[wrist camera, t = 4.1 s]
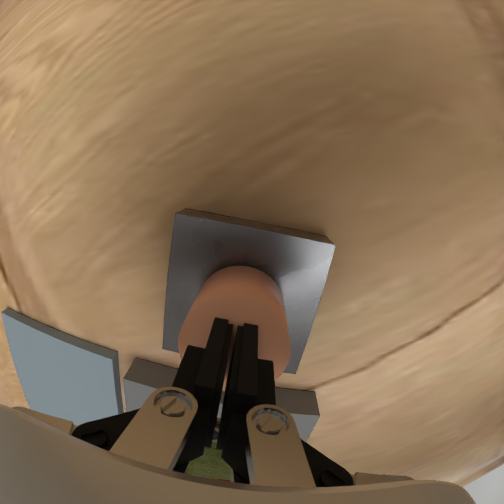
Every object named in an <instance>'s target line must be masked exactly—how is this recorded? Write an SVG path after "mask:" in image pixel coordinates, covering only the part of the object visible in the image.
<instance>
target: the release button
mask: <svg viewBox="0 0 504 504" xmlns="http://www.w3.org/2000/svg"><path fill="white" fill-rule="evenodd" d="M215 317H217V318H222V319H227V320H229V321H228V323H229V324H234V325H233V331H232V337H231V342H230V348H229V354H228V360H227V366H226V372H225V378H224V384H223V389H222V391H225V387H226V381H227V376H228V371H229V366H230V362H231V357H232V352H233V347H234V342H235V337H236V332H237V327H238V325H239V326H243V325H244V323H248V324H254V325H258V358H259V359H265V360H271V361H273V364H274V380H276V379H277V378H278V377H279V376H280V375H281V374H282V373H283V371H284V370H285V368H286V367H287V364H288V362H289V359H290V354H291V345H290V337H289V331H288V325H287V319H286V312H285V306H284V300H283V296H282V293H281V291H280V289H279V287H278V285H277V284H276V283H275V281H274V280H273V279H272V278H271V277H269V276H268V275H267V274H265V273H264V272H262V271H260V270H258V269H255V268H252V267H247V266H231V267H227V268H224V269H221V270H219V271H217V272H215V273H214V274H212V275H211V276H210V277H209V278H208V279H207V280H206V281H205V282H204V284H203V285H202V287H201V289H200V291H199V293H198V295H197V297H196V299H195V301H194V303H193V305H192V307H191V309H190V311H189V313H188V315H187V317H186V319H185V321H184V323H183V325H182V327H181V330H180V333H179V337H178V349H179V354H180V357H181V359H182V358H183V356H184V353H185V351H186V348H187V346H188V345H192V346H196V347H201V348H206V344H207V341H208V338H209V335H210V331H211V328H212V325H213V321H214V318H215Z"/></svg>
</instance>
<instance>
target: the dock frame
mask: <svg viewBox="0 0 504 504" xmlns="http://www.w3.org/2000/svg"><path fill="white" fill-rule="evenodd" d="M177 371H178V369H176V368H172V367H168V366H164V365H160V364H156V363H153V362H149V361H146V360H142V359H139V358H136V359H135V360H134V362H133V364H132V365H131V367H130V368H129V370H128V372H127V373H126V375H125V377H124V378H123V381H124V392H125V402H126V411H127V412H129V411H132V410H136V409H139V408H141V407H142V405H143V404H144V403H145V401H146V400H147V399H148V397H149V396H150V394H152V393H153V392H154V391H155V390H157V389H159V388H163V387H172V384H173V381H174V379H175V376H176V374H177ZM224 394H225V391H222V395H221V400H220V405H219V410H218V415H217V418H221V413H222V406H223V400H224ZM275 397H276V406H278V407H281V408H283V409H285V410H286V411H288V412H289V413H290V414H291V415H292V417H293V419H294V421H295V424H296V427H297V430H298V433H299V436H300V438H301V439H302V440H303V441H305V442H306V441H307V439H308V437H309V436H310V434H311V432H312V430H313V428H314V426H315V424H316V422H317V421H318V419H319V417H320V413H319V408H318V404H317V399H316V394H315V392H312V391H301V390H292V389H284V388H276V387H275Z"/></svg>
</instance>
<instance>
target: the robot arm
mask: <svg viewBox="0 0 504 504" xmlns="http://www.w3.org/2000/svg"><path fill="white" fill-rule="evenodd" d="M228 321H229V320H227V319H222V318H217V317H215V318H214V321H213V325H212V328H211V331H210V335H209V338H208V341H207V344H206V348H201V347H196V346H192V345H188V346H187V348H186V351H185V353H184V356H183V358H182V361H181V364H180V366H179V369H178V371H177V374H176V376H175V379H174V381H173V384H172V387H163V388H159V389H157V390H155V391H154V392H153V393H152V394H150V396H149V397H148V399H147V400H146V401H145V403H144V404H143V405H142V407H141V408H139V409H136V410H132V411H129V412H125V413H122V414H118V415H114V416H110V417H106V418H102V419H98V420H94V421H90V422H86V423H83V424H81V425H79V426H78V425H74V424H73V421H69V420H65V419H62V418H58V417H54V416H50V415H47V414H44V413H40V412H37V411H34V410H31V409H28V408H25V407H19V406H18V407H12V408H10V407H8V406H5V405H2V404H0V504H476V503H475V502H474V500H473V499H472V497H471V496H470V495H469V493H468V492H467V491H466V490H465V489H464V488H463V487H461V486H459V485H457V484H454V483H450V482H445V481H436V480H414V479H413V478H411V477H407V476H393V475H379V474H368V473H359V472H356V473H355V475H352V474H350V473H349V472H348V471H346V470H345V469H344V468H343V467H341V466H340V465H338V464H337V463H335V462H333V461H332V460H330V459H329V458H328V457H326V456H325V455H323V454H322V453H320V452H319V451H317V450H316V449H315V448H313V447H312V446H310V445H309V444H307V443H306V442H305V441H303V440H302V439H301V438H300V436H299V433H298V430H297V427H296V424H295V421H294V419H293V417H292V415H291V414H290V413H289V412H288V411H286V410H285V409H283V408H281V407H278V406H276V397H275V380H274V364H273V361H271V360H265V359H259V358H258V325H254V324H248V323H244V325H243V326H239V325H238V327H237V332H236V337H235V342H234V347H233V352H232V357H231V362H230V366H229V371H228V376H227V381H226V387H225V394H224V400H223V406H222V413H221V419H220V426H219V432H218V439H217V445H216V449H218V450H222V453H221V458H222V459H223V460H224V461H225V462H226V463H227V464H228V465H229V466H230V467H231V468H230V479H231V482H228V481H221V480H215V479H209V478H203V477H198V476H193V475H189V474H187V472H188V470H189V468H190V465H191V461H192V460H194V459H196V458H198V457H200V456H203V453H204V448H205V447H208V448H211V445H212V440H213V435H214V430H215V425H216V420H217V415H218V410H219V405H220V400H221V395H222V389H223V384H224V378H225V372H226V366H227V360H228V354H229V348H230V342H231V337H232V331H233V325H234V324H229V323H228Z"/></svg>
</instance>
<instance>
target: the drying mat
mask: <svg viewBox="0 0 504 504" xmlns="http://www.w3.org/2000/svg"><path fill="white" fill-rule="evenodd" d="M1 313H2V318H3V323H4V327H5V332H6V336H7V340H8V344H9V347H10V351H11V355H12V358H13V361H14V365H15V368H16V371H17V374H18V377H19V380H20V383H21V386H22V389H23V391H24V394H25V397H26V399H27V402H28V404H29V407H30V409H31V410H34V411H37V412H40V413H44V414H47V415H50V416H54V417H58V418H62V419H65V420H69V421H73V424H74V425H78V426H79V425H81V424H83V423H86V422H90V421H94V420H98V419H102V418H106V417H110V416H114V415H118V414H122V413H123V406H122V397H121V388H120V378H119V366H118V352H116V351H113V350H110V349H107V348H104V347H101V346H98V345H95V344H92V343H90V342H87V341H84V340H81V339H79V338H76V337H73V336H71V335H68V334H66V333H63V332H61V331H58V330H56V329H53V328H51V327H49V326H46V325H44V324H42V323H39V322H37V321H35V320H33V319H31V318H28V317H26V316H24V315H22V314H20V313H18V312H16V311H14V310H12V309H10V308H7V309H5V310H4V311H2V312H1Z"/></svg>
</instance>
